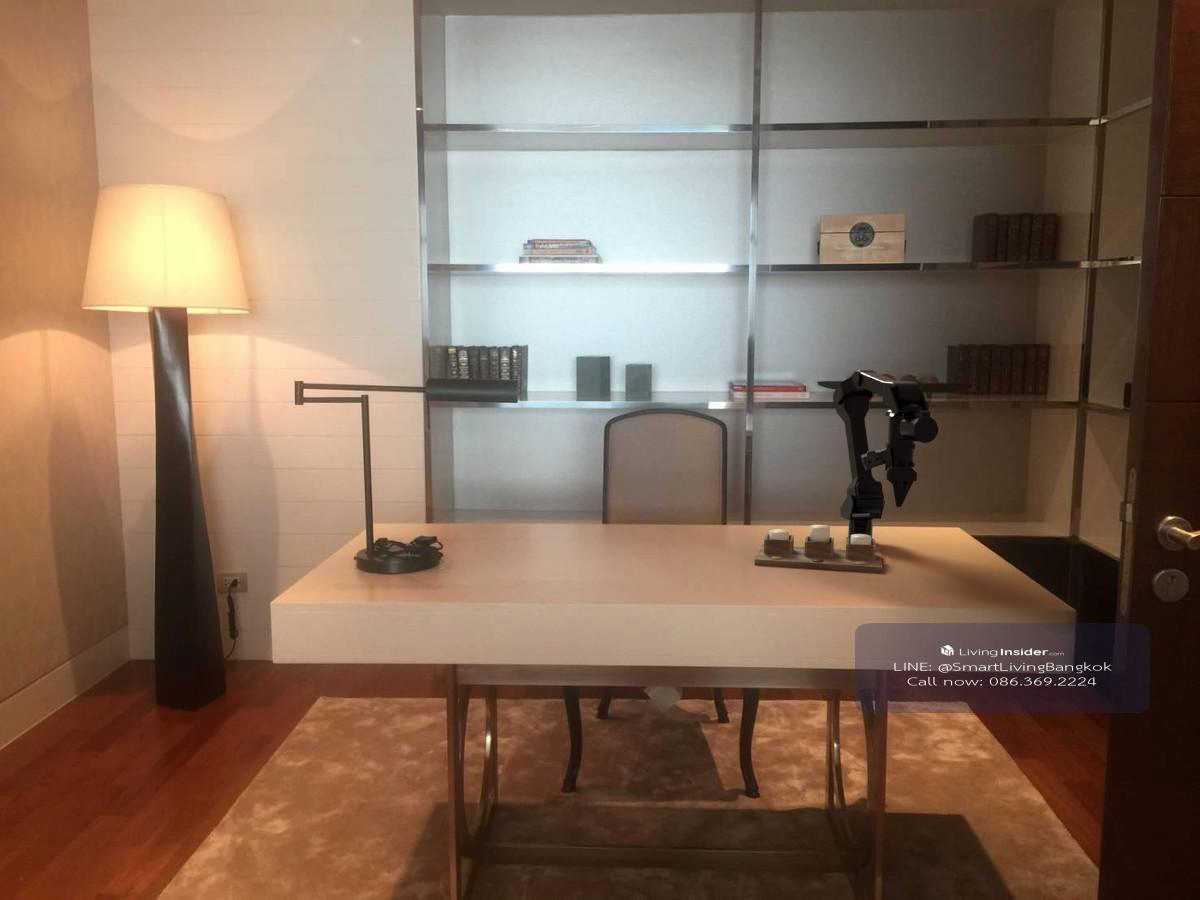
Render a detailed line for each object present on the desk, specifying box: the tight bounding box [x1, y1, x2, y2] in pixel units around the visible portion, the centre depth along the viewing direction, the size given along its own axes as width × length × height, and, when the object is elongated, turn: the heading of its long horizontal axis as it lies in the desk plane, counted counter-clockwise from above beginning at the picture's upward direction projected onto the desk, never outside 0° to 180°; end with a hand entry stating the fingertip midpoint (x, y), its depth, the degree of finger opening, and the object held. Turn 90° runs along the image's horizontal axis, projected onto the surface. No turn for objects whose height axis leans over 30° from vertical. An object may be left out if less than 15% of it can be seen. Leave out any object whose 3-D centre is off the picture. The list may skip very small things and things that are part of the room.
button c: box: [768, 528, 790, 540], centre depth 215 cm, size 4×4×4 cm
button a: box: [851, 534, 871, 545], centre depth 210 cm, size 4×4×4 cm
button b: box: [809, 524, 831, 543], centre depth 213 cm, size 4×4×4 cm
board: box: [754, 533, 883, 574], centre depth 212 cm, size 15×27×4 cm, turn 75°
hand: (898, 506), depth 212 cm, fingers closed
